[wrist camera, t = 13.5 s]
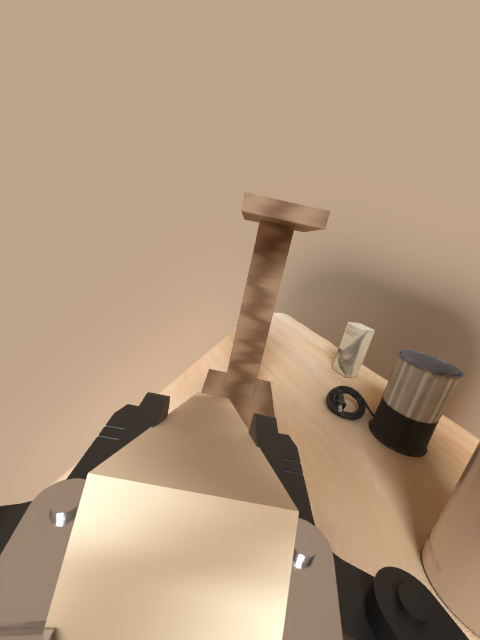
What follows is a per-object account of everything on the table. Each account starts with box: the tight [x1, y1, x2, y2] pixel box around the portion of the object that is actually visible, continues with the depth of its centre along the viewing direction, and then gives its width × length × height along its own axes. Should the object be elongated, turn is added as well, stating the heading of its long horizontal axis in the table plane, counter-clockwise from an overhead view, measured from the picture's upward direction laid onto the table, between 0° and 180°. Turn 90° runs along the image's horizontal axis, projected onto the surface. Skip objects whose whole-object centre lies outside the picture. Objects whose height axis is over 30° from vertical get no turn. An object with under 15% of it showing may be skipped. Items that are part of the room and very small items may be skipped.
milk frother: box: [327, 349, 464, 457], centre depth 49 cm, size 14×16×15 cm
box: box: [332, 322, 375, 377], centre depth 71 cm, size 5×4×13 cm
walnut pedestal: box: [201, 193, 330, 430], centre depth 44 cm, size 12×15×32 cm
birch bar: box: [44, 393, 299, 640], centre depth 15 cm, size 3×24×3 cm, turn 179°
